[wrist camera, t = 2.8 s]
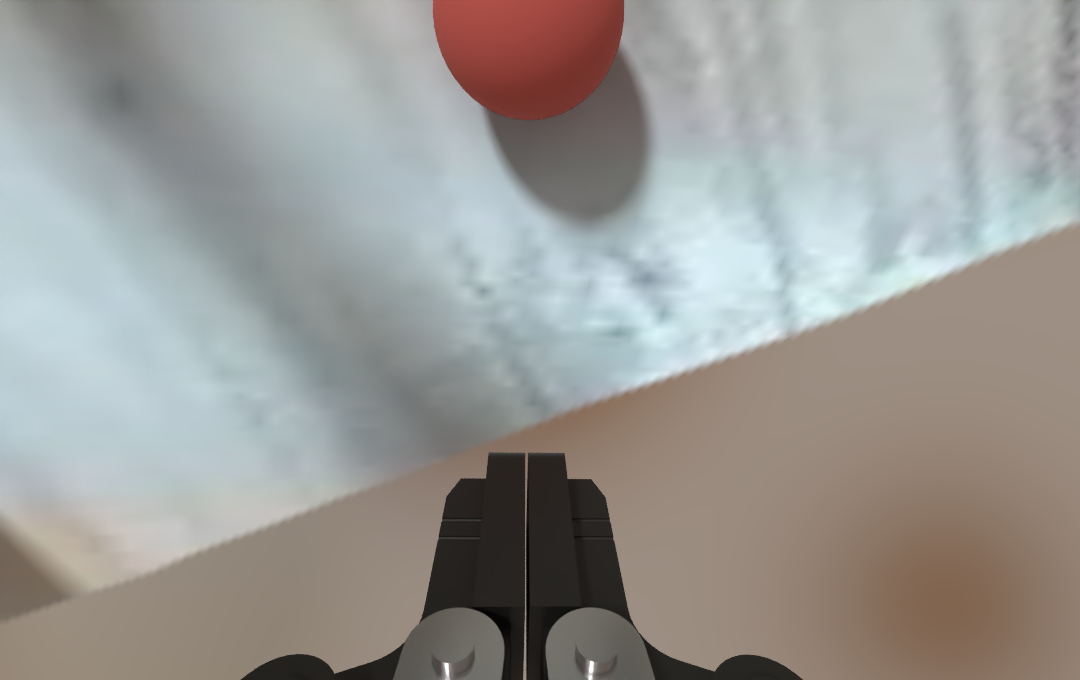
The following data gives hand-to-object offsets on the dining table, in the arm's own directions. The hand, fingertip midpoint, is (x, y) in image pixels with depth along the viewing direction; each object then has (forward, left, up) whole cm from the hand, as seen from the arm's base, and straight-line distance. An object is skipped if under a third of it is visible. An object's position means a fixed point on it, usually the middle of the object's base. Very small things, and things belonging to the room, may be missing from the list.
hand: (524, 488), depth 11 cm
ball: (-10, 0, -11) cm, 15 cm away
